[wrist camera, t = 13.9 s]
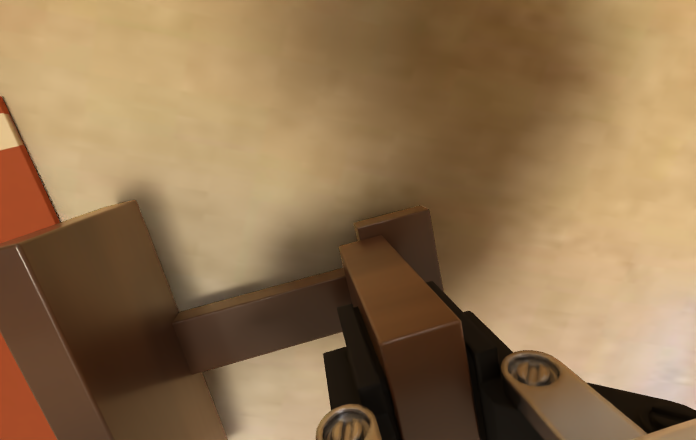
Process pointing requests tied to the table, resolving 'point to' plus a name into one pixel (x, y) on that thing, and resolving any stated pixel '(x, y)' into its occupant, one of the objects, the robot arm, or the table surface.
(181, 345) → the rod with end plates
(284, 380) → the table surface
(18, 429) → the towel
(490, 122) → the table surface
